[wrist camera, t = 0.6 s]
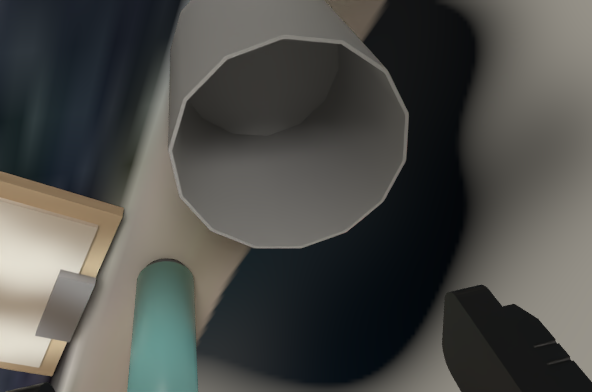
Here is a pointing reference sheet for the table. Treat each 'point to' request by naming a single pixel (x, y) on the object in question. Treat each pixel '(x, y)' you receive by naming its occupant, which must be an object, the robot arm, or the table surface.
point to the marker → (164, 330)
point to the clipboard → (47, 268)
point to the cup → (280, 121)
